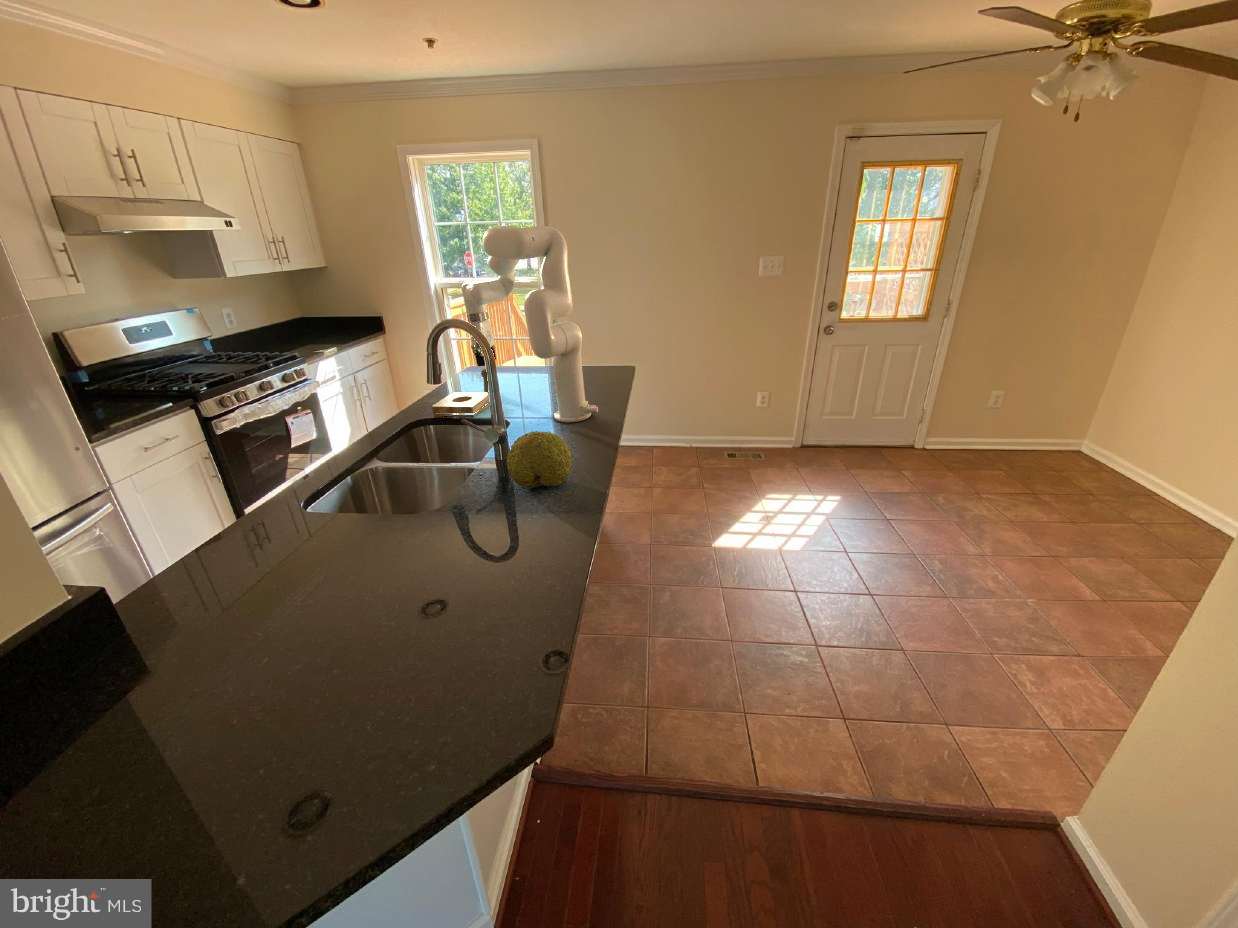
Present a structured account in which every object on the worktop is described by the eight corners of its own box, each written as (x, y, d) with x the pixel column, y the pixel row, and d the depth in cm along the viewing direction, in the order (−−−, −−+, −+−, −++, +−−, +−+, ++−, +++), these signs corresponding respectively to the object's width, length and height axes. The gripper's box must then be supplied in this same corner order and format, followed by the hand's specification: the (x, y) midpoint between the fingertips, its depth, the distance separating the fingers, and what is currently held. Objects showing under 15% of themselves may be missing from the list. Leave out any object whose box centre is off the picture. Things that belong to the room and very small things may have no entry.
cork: (491, 399, 195) (486, 371, 190) (481, 396, 198) (476, 369, 193) (502, 394, 199) (498, 367, 194) (493, 392, 202) (488, 366, 198)
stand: (493, 402, 191) (491, 392, 189) (474, 417, 177) (472, 406, 175) (455, 402, 194) (453, 392, 192) (433, 416, 180) (431, 406, 178)
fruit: (520, 506, 118) (490, 449, 116) (526, 497, 132) (500, 446, 131) (581, 475, 119) (553, 418, 117) (581, 470, 133) (555, 419, 131)
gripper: (476, 321, 177) (486, 368, 184) (497, 313, 192) (505, 357, 199) (457, 322, 178) (467, 369, 186) (479, 314, 194) (487, 357, 201)
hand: (487, 362), depth 192 cm, fingers open, 9 cm apart
